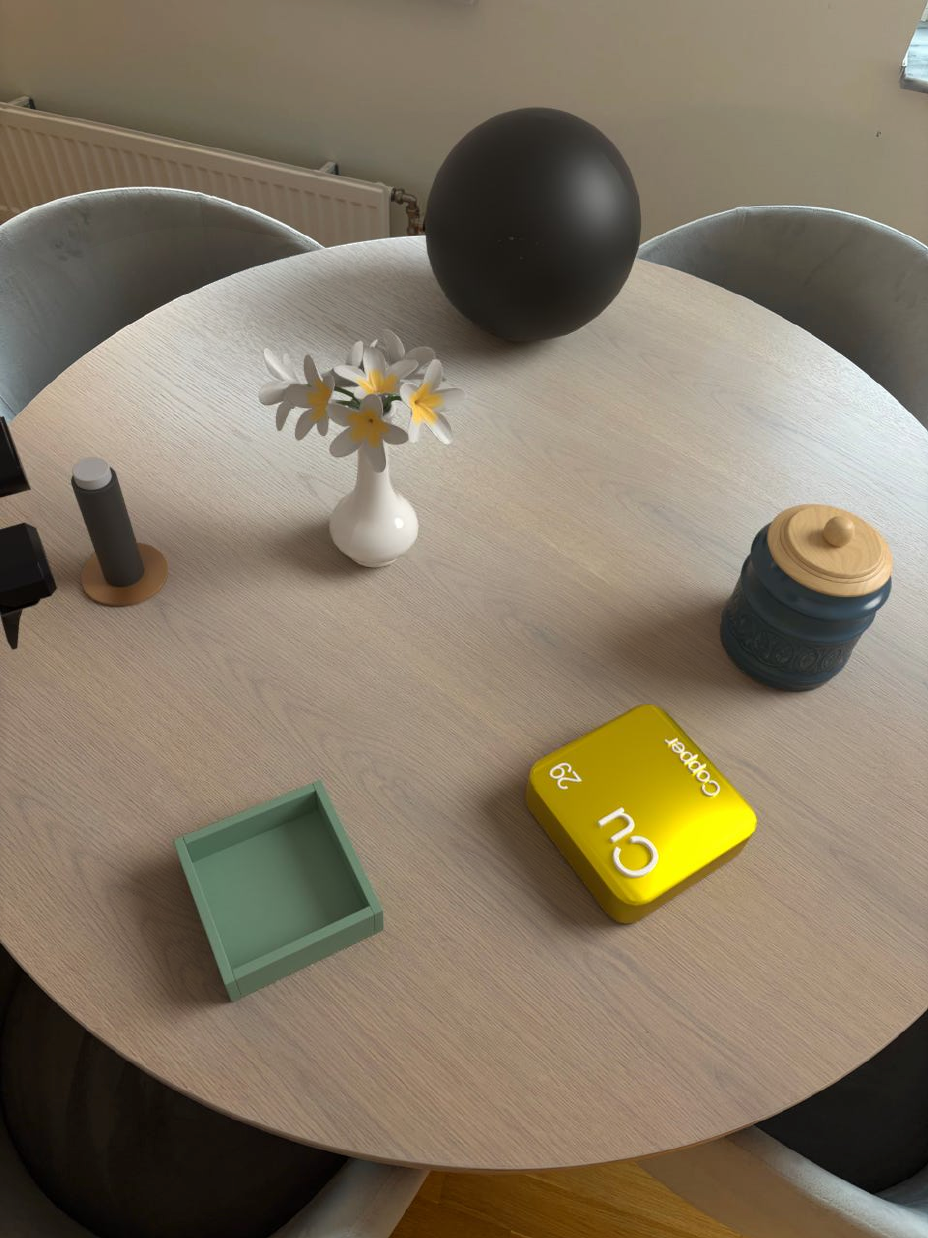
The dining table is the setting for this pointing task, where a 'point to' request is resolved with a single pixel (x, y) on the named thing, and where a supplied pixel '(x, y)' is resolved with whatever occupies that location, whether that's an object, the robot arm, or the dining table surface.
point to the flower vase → (368, 434)
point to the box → (278, 888)
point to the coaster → (131, 594)
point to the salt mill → (107, 521)
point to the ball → (533, 224)
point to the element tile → (638, 811)
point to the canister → (806, 596)
